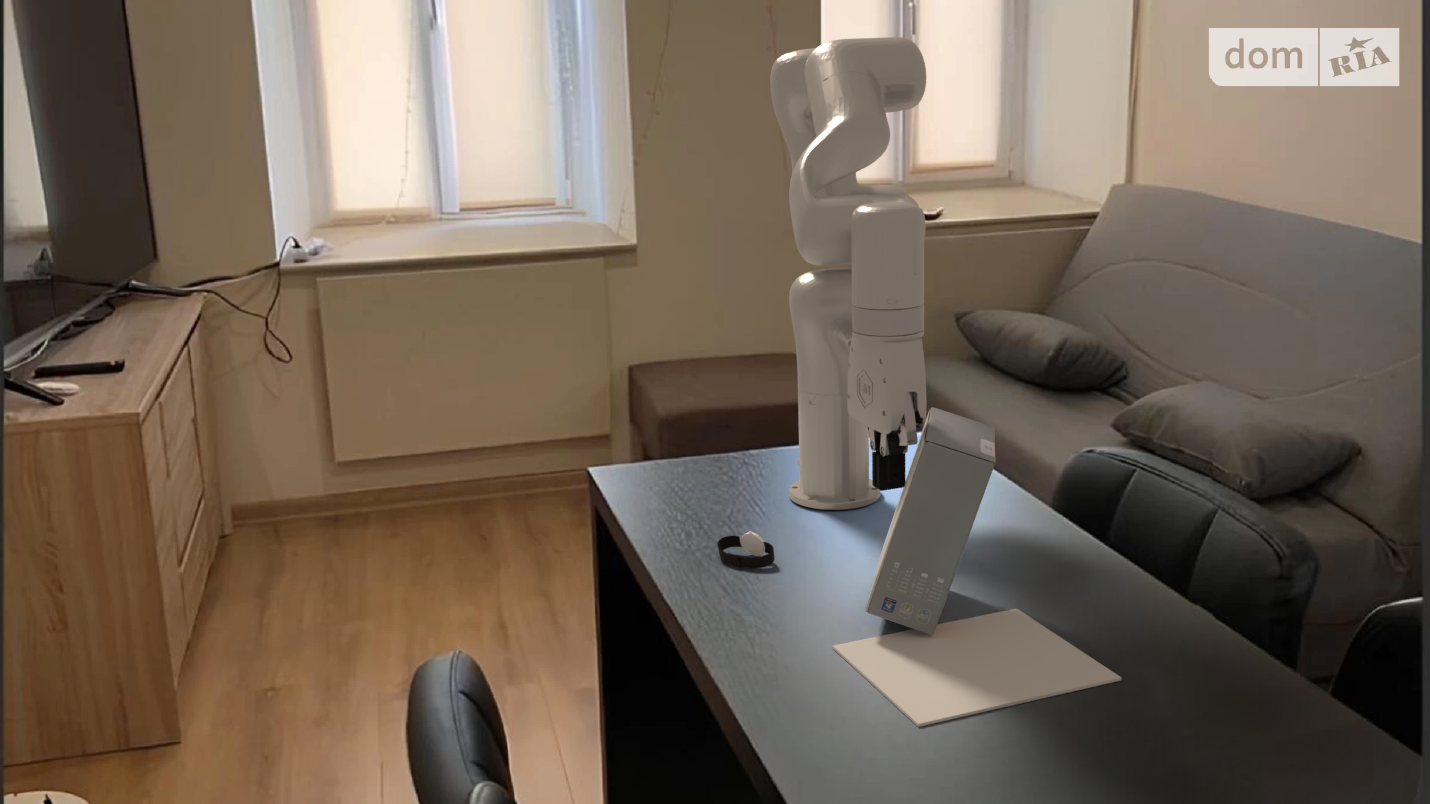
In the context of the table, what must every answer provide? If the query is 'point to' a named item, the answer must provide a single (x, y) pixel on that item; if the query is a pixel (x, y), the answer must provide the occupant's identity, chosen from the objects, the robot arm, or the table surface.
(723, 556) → the watch
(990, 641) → the mat
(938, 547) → the hard drive box
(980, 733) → the table surface
